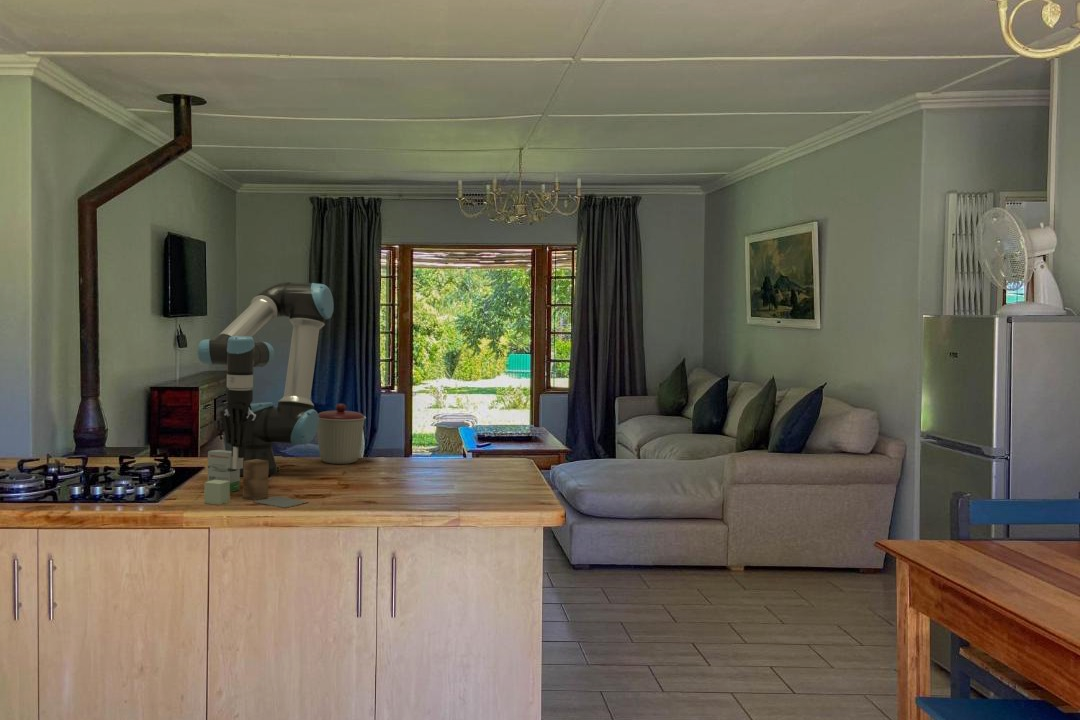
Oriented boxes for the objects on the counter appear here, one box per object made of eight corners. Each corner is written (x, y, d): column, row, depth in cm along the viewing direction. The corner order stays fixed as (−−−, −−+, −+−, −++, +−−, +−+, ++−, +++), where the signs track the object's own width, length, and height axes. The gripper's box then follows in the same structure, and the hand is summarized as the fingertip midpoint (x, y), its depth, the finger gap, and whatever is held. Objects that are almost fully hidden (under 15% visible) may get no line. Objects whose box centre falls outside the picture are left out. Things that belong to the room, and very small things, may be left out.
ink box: (240, 489, 312) (241, 451, 311) (230, 492, 307) (231, 453, 307) (216, 486, 315) (217, 448, 314) (206, 489, 310) (207, 450, 309)
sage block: (204, 503, 291) (204, 482, 291) (213, 500, 296) (214, 479, 296) (220, 505, 290) (220, 483, 290) (229, 501, 295) (230, 481, 294)
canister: (339, 468, 356) (341, 407, 355) (302, 461, 366) (304, 402, 365) (375, 462, 371) (377, 404, 370) (338, 456, 381) (340, 399, 380)
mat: (253, 502, 294) (253, 501, 294) (277, 497, 303) (277, 496, 303) (284, 508, 289) (284, 507, 289) (308, 502, 297) (308, 501, 297)
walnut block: (242, 498, 300) (243, 461, 299) (255, 495, 304) (256, 458, 303) (255, 500, 297) (256, 462, 297) (267, 497, 302) (268, 460, 301)
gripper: (213, 387, 302) (212, 467, 303) (246, 391, 296) (244, 472, 297) (233, 386, 308) (231, 464, 310) (265, 389, 302) (263, 469, 304)
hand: (237, 468), depth 303 cm, fingers closed
